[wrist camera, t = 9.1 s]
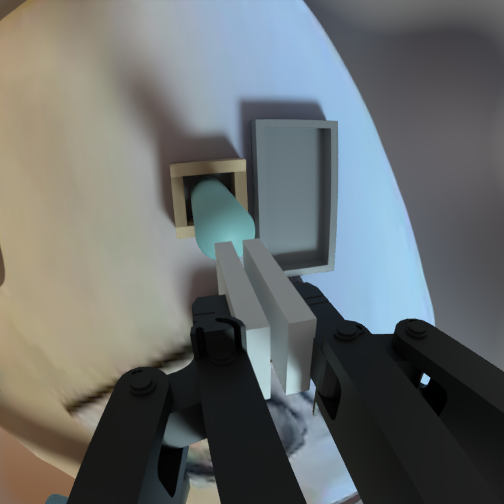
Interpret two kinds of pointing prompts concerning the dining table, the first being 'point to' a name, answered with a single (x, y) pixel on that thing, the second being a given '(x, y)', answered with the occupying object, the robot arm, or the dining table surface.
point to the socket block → (198, 168)
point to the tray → (296, 192)
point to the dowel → (218, 217)
